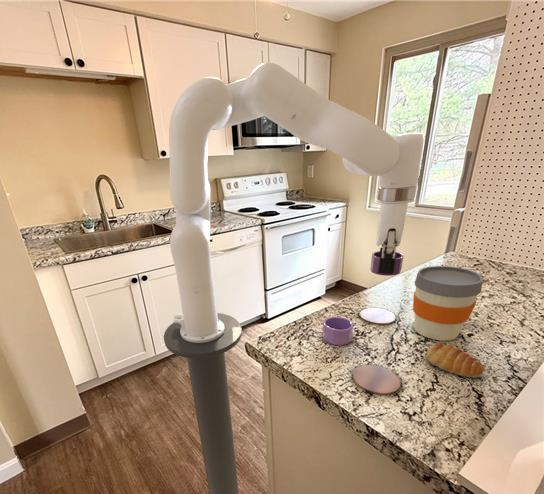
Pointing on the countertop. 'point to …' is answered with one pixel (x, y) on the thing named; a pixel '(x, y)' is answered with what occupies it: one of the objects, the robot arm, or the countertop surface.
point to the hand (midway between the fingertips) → (385, 267)
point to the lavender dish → (337, 330)
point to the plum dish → (376, 260)
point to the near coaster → (376, 379)
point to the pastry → (454, 360)
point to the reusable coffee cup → (444, 300)
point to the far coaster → (377, 316)
